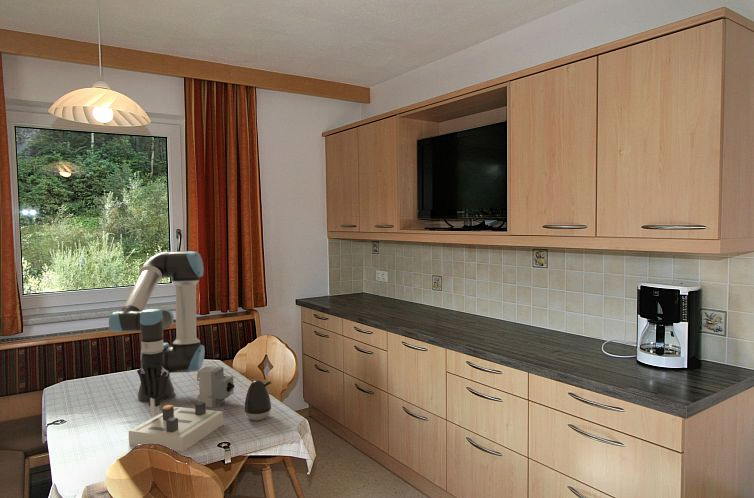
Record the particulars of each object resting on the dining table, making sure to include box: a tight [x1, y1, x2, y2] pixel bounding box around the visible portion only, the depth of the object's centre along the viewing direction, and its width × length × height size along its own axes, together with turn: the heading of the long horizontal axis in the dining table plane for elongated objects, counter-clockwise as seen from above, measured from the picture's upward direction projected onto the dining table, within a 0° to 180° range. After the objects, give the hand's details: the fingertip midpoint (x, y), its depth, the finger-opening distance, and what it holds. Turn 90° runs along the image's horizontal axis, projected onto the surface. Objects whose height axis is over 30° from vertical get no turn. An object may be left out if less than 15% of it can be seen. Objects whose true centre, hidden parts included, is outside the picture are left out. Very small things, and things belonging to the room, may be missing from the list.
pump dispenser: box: [244, 379, 272, 422], centre depth 200 cm, size 10×10×15 cm
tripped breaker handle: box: [162, 404, 175, 420], centre depth 187 cm, size 2×3×5 cm
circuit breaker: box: [196, 365, 235, 408], centre depth 217 cm, size 8×14×15 cm, turn 78°
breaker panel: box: [128, 402, 224, 453], centre depth 186 cm, size 22×24×9 cm
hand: (155, 414), depth 189 cm, fingers closed
